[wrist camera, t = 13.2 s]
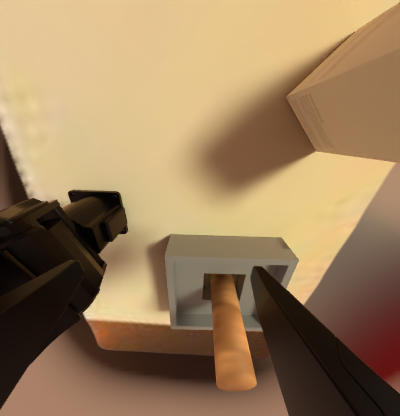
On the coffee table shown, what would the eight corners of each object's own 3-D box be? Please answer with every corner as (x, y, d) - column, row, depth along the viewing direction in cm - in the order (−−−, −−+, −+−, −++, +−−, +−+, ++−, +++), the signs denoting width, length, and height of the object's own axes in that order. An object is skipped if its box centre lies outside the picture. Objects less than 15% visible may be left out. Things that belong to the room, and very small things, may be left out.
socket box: (175, 303, 30) (171, 328, 26) (170, 234, 23) (164, 256, 19) (258, 305, 31) (267, 331, 26) (281, 237, 23) (298, 260, 19)
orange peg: (214, 284, 28) (223, 393, 16) (206, 270, 26) (210, 379, 15) (234, 279, 27) (260, 388, 16) (228, 264, 25) (251, 374, 14)
